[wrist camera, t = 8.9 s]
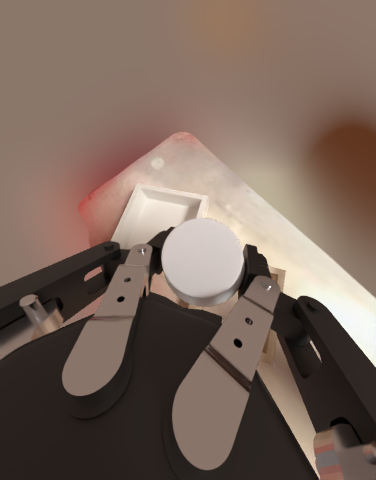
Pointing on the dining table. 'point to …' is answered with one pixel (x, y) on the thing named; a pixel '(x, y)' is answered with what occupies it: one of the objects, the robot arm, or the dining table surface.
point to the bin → (156, 213)
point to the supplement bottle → (203, 262)
